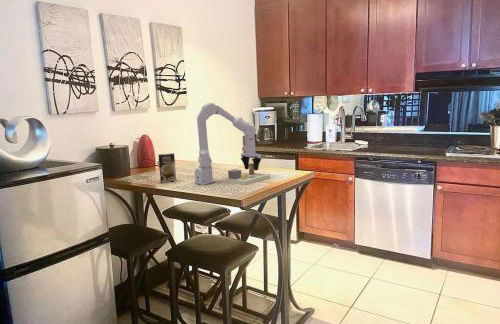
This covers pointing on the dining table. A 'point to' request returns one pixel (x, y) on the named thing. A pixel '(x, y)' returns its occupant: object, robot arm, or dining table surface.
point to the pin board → (248, 178)
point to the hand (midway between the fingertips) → (251, 169)
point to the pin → (251, 169)
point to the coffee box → (167, 167)
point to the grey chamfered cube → (234, 174)
